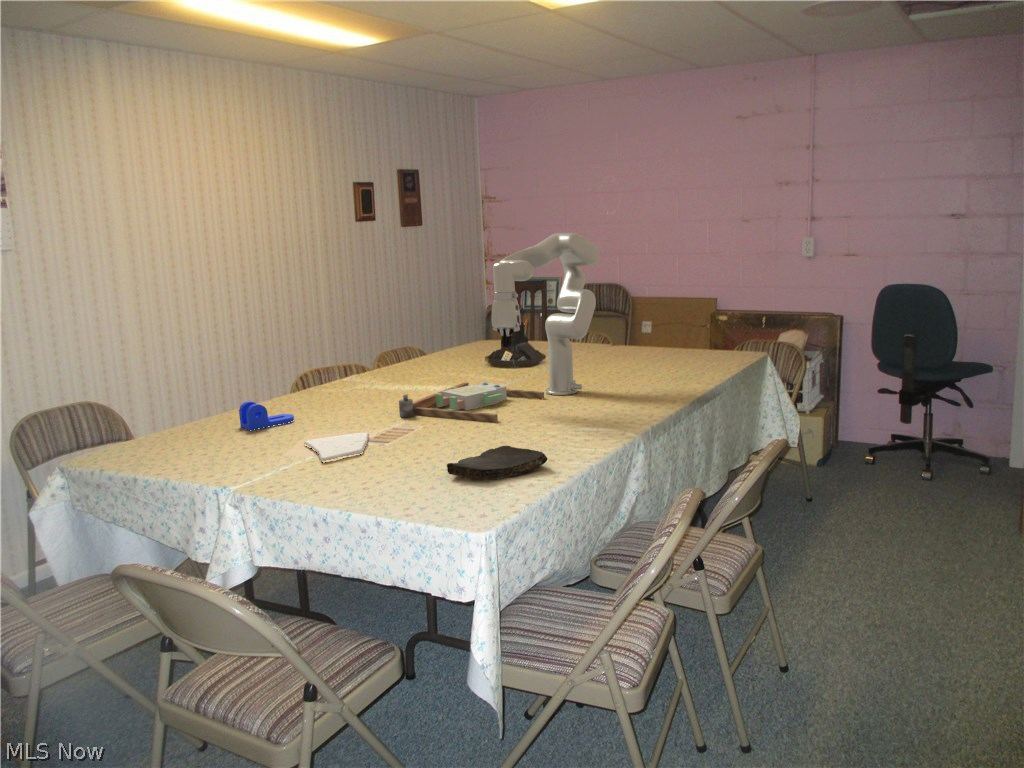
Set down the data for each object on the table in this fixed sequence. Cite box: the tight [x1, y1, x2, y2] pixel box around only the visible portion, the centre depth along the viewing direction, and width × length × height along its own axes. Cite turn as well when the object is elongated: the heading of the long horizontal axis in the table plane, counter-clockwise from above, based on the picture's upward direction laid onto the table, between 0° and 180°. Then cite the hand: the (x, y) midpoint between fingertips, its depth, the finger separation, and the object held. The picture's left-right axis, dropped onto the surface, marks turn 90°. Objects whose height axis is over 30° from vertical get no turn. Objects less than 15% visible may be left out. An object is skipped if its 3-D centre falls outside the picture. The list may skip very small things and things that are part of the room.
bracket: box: [238, 400, 295, 431], centre depth 295 cm, size 18×8×9 cm, turn 130°
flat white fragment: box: [304, 432, 370, 462], centre depth 260 cm, size 21×4×25 cm
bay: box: [398, 382, 545, 423], centre depth 309 cm, size 38×46×8 cm
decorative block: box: [434, 381, 508, 411], centre depth 316 cm, size 26×6×20 cm
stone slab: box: [446, 445, 548, 481], centre depth 231 cm, size 26×7×20 cm
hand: (506, 346), depth 302 cm, fingers closed
